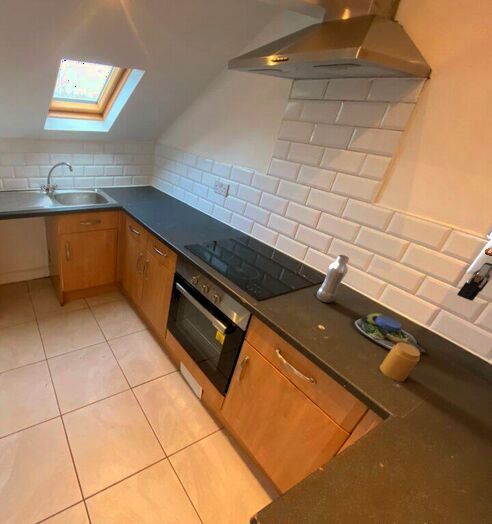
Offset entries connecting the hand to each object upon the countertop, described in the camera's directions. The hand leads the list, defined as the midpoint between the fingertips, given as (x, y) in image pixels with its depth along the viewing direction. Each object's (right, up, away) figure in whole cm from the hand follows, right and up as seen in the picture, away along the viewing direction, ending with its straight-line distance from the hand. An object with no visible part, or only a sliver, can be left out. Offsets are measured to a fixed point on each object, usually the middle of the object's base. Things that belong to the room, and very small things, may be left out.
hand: (468, 293), depth 83 cm
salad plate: (-6, -17, +23) cm, 29 cm away
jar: (-17, -25, +6) cm, 31 cm away
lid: (-5, -12, +21) cm, 24 cm away
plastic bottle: (-16, -7, +40) cm, 44 cm away
